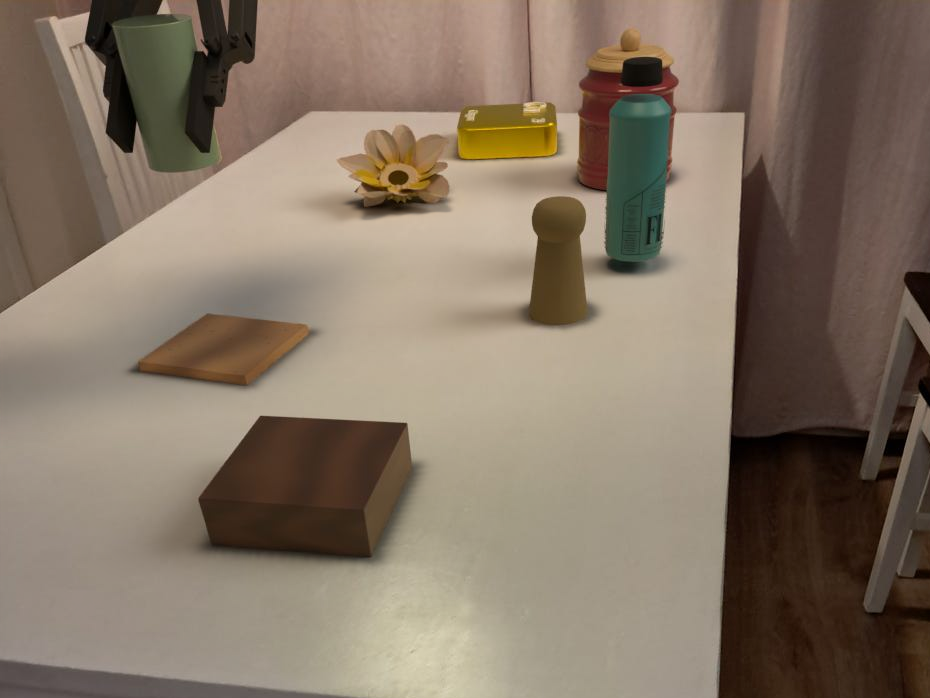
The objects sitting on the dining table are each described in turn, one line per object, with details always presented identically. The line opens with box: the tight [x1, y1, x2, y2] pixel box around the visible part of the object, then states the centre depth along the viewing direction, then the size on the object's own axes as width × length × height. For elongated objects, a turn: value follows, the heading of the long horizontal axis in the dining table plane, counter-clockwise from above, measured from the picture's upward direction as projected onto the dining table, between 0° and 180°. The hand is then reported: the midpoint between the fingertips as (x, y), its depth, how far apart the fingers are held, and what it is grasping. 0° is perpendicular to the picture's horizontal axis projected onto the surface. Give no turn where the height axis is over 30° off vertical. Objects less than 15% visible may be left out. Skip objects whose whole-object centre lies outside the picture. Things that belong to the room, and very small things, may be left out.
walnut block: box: [197, 415, 413, 558], centre depth 68 cm, size 12×12×4 cm
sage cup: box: [112, 13, 223, 174], centre depth 74 cm, size 6×6×10 cm
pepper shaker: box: [528, 195, 588, 326], centre depth 91 cm, size 6×6×11 cm
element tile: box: [456, 101, 558, 161], centre depth 143 cm, size 15×15×5 cm
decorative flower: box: [336, 123, 450, 208], centre depth 121 cm, size 15×11×10 cm
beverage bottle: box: [603, 57, 671, 262], centre depth 97 cm, size 6×7×20 cm
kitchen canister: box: [576, 28, 680, 191], centre depth 122 cm, size 13×13×18 cm
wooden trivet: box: [137, 312, 310, 386], centre depth 91 cm, size 12×12×1 cm
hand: (158, 142), depth 73 cm, fingers closed on sage cup, 6 cm apart
